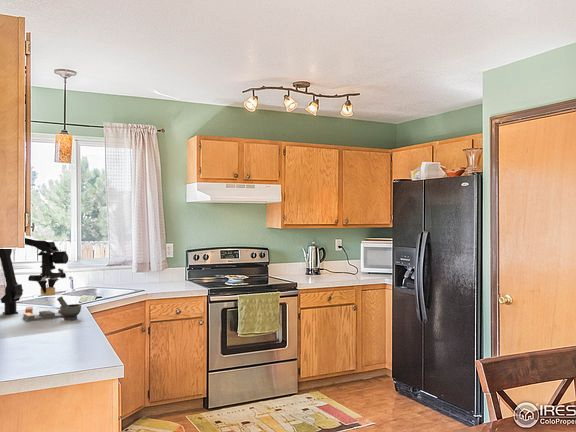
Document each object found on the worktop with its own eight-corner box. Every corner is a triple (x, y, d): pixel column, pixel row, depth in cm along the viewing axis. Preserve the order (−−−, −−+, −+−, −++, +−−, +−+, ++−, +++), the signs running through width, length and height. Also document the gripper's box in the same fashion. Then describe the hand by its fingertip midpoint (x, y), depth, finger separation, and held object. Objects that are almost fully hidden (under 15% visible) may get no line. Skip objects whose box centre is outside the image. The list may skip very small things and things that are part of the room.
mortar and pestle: (79, 316, 265) (79, 293, 265) (82, 320, 257) (82, 296, 257) (56, 319, 259) (56, 295, 259) (58, 322, 251) (58, 298, 251)
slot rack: (23, 318, 262) (23, 313, 262) (64, 313, 275) (64, 308, 275) (28, 321, 254) (28, 315, 254) (69, 316, 267) (69, 311, 267)
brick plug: (26, 314, 273) (26, 307, 273) (32, 314, 274) (32, 306, 274) (25, 317, 265) (25, 309, 265) (31, 317, 266) (31, 309, 266)
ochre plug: (55, 294, 274) (55, 287, 274) (49, 295, 271) (49, 288, 271) (44, 293, 278) (44, 286, 278) (39, 294, 276) (39, 287, 276)
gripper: (40, 265, 262) (40, 296, 262) (72, 263, 279) (72, 291, 278) (27, 264, 268) (27, 294, 268) (59, 262, 284) (59, 290, 284)
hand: (47, 292), depth 274 cm, fingers closed on ochre plug, 3 cm apart
